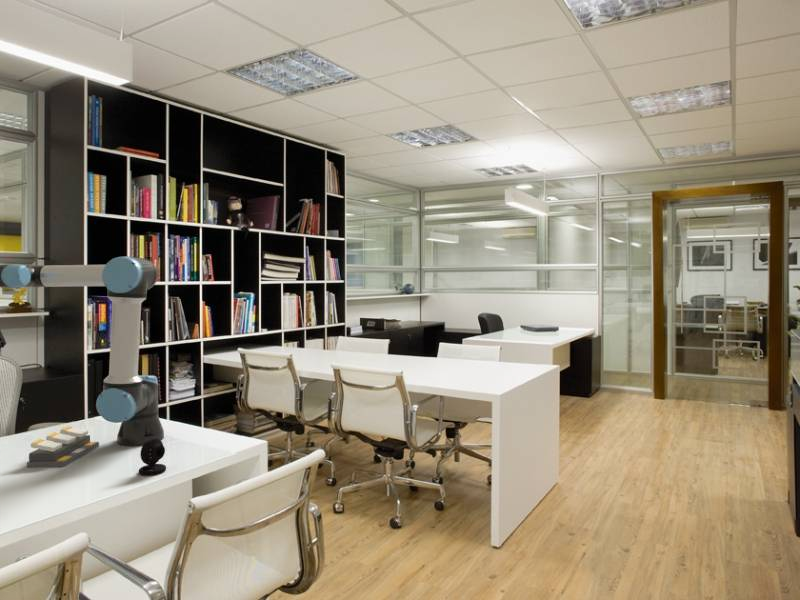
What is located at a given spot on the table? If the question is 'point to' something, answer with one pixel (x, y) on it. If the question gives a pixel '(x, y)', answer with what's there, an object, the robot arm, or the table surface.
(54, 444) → the rocker
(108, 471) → the table surface
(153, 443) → the webcam
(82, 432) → the rocker
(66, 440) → the rocker
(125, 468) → the table surface
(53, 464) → the switch panel
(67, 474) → the table surface
